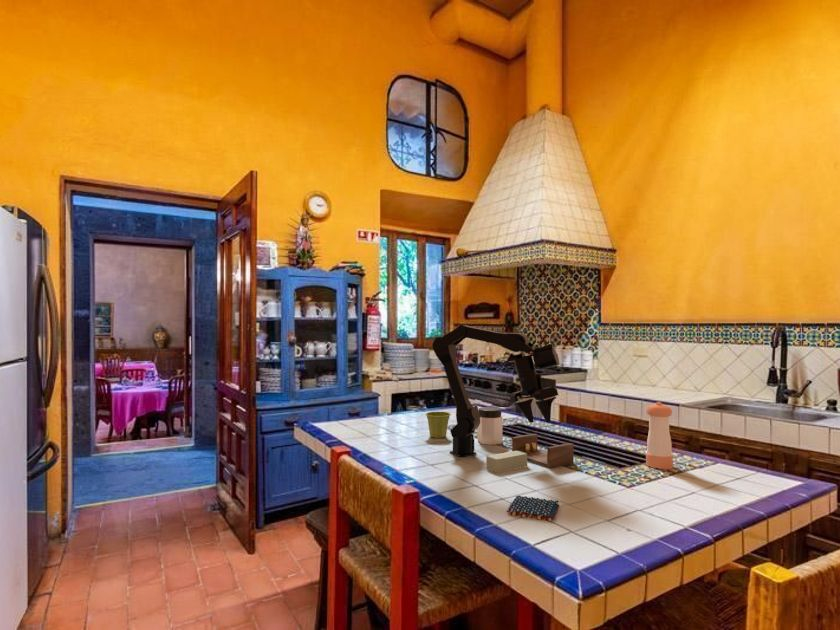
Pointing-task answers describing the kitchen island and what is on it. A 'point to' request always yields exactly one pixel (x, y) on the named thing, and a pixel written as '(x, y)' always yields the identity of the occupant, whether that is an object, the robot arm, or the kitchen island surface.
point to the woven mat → (533, 508)
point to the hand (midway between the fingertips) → (540, 422)
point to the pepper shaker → (659, 437)
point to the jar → (490, 426)
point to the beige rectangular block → (506, 461)
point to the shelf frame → (548, 459)
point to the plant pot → (438, 423)
